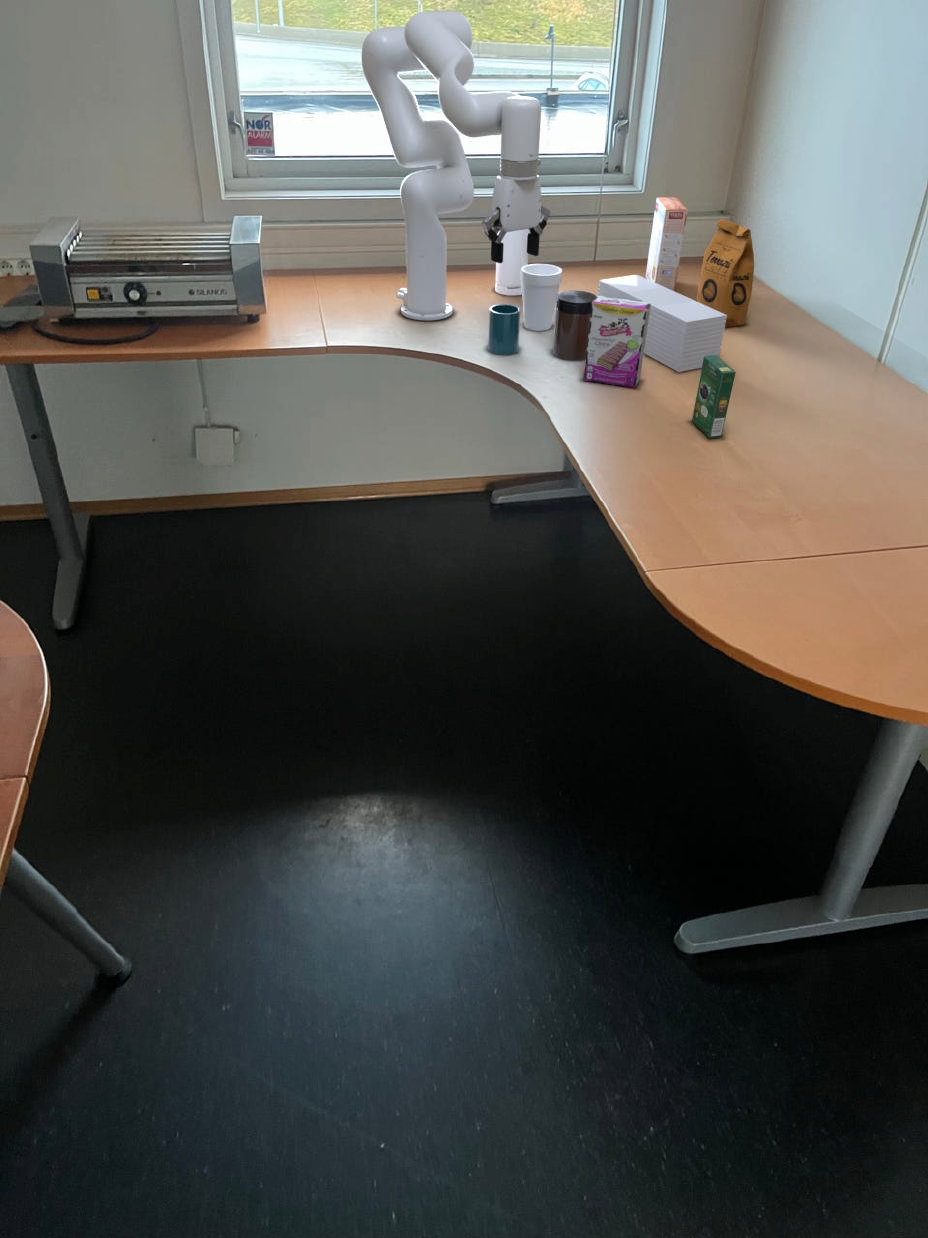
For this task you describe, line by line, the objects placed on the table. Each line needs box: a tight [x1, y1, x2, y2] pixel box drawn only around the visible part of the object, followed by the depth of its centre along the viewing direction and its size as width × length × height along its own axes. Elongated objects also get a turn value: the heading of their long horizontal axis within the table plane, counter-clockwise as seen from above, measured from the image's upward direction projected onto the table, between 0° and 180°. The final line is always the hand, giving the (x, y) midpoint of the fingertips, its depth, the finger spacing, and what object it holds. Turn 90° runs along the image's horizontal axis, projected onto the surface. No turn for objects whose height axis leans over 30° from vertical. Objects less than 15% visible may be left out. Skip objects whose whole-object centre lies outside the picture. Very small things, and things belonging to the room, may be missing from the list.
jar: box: [552, 306, 591, 362], centre depth 199 cm, size 8×8×12 cm
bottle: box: [494, 229, 530, 296], centre depth 230 cm, size 8×8×28 cm
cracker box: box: [644, 196, 688, 292], centre depth 237 cm, size 14×6×21 cm, turn 179°
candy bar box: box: [583, 295, 651, 389], centre depth 185 cm, size 11×5×16 cm, turn 71°
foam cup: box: [520, 263, 563, 332], centre depth 213 cm, size 10×9×13 cm
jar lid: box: [555, 290, 597, 314], centre depth 196 cm, size 8×8×2 cm
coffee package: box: [696, 218, 755, 328], centre depth 216 cm, size 10×12×22 cm
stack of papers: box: [597, 274, 727, 373], centre depth 205 cm, size 32×11×11 cm, turn 27°
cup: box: [487, 303, 521, 356], centre depth 201 cm, size 7×7×9 cm
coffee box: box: [691, 355, 737, 440], centre depth 168 cm, size 8×3×13 cm, turn 13°
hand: (514, 257), depth 192 cm, fingers open, 9 cm apart
